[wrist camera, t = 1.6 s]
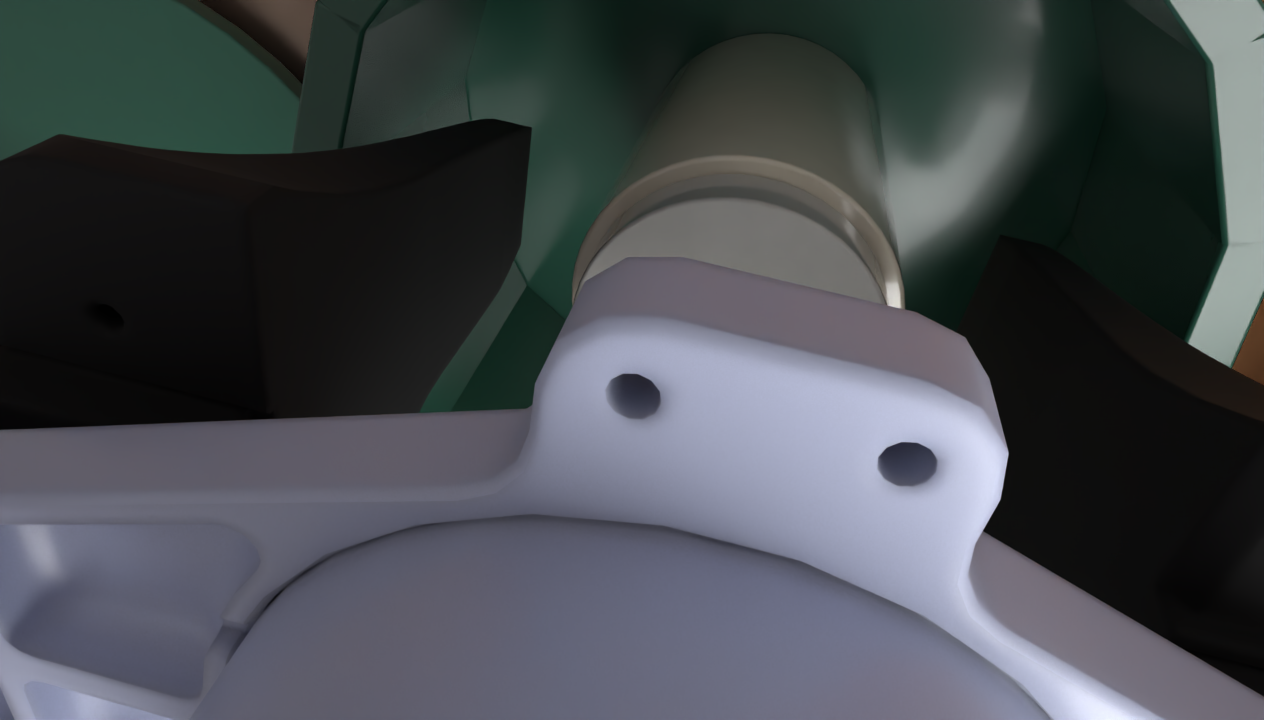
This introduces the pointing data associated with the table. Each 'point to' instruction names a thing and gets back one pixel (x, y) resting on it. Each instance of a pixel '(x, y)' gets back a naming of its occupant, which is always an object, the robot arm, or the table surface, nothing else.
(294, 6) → the table surface
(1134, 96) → the pot
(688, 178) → the salt shaker
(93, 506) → the robot arm
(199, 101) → the lid
